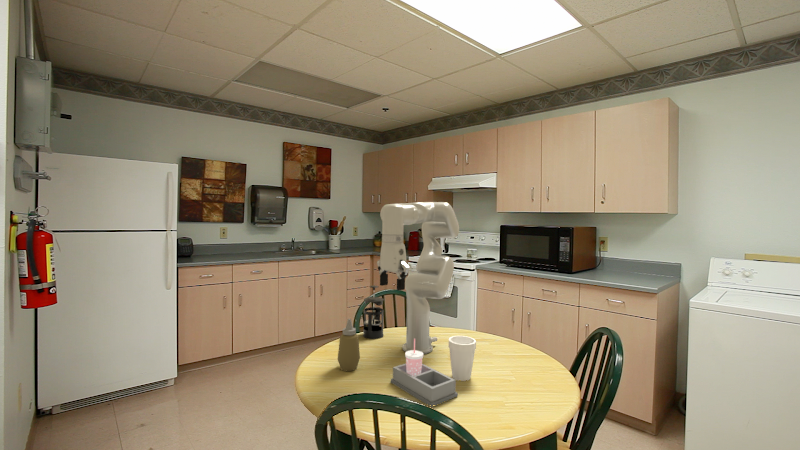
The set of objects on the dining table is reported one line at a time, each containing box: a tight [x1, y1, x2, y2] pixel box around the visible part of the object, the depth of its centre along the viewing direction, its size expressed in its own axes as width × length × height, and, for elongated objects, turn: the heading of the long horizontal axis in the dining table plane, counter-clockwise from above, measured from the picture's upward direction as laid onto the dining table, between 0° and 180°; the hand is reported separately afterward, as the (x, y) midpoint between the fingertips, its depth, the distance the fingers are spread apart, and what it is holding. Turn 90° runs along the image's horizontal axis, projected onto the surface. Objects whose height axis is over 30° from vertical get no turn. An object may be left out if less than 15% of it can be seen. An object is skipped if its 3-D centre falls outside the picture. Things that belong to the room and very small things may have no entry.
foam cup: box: [448, 335, 477, 382], centre depth 132 cm, size 10×9×13 cm
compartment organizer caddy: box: [390, 363, 459, 408], centre depth 122 cm, size 20×11×5 cm, turn 38°
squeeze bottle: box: [337, 318, 361, 372], centre depth 137 cm, size 8×8×18 cm
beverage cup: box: [404, 338, 424, 376], centre depth 126 cm, size 6×6×14 cm
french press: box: [362, 285, 385, 340], centre depth 174 cm, size 12×9×23 cm
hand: (392, 287), depth 135 cm, fingers open, 9 cm apart
